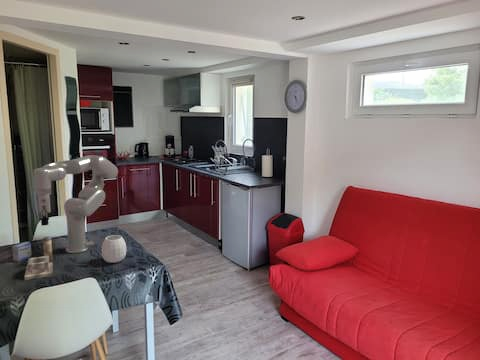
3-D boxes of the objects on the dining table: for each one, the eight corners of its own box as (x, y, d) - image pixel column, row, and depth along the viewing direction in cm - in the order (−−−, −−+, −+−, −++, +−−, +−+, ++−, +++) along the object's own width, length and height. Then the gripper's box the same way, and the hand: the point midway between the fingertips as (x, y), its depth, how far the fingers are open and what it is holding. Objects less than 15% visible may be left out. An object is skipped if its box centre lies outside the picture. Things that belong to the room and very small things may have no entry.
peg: (52, 259, 197) (51, 236, 194) (52, 262, 194) (51, 238, 191) (44, 261, 195) (42, 237, 193) (44, 263, 192) (42, 239, 189)
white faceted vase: (123, 265, 194) (122, 241, 191) (98, 265, 193) (97, 241, 190) (129, 255, 207) (128, 233, 204) (106, 255, 206) (105, 233, 203)
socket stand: (52, 264, 191) (51, 253, 190) (52, 275, 179) (51, 263, 178) (26, 268, 186) (25, 257, 184) (24, 280, 173) (23, 267, 172)
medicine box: (19, 262, 193) (17, 247, 191) (13, 260, 194) (11, 245, 193) (32, 256, 200) (30, 242, 199) (26, 255, 202) (25, 241, 200)
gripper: (50, 194, 181) (53, 226, 184) (51, 187, 196) (53, 217, 199) (34, 195, 178) (36, 228, 181) (36, 188, 193) (38, 218, 196)
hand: (45, 222), depth 190 cm, fingers open, 9 cm apart
